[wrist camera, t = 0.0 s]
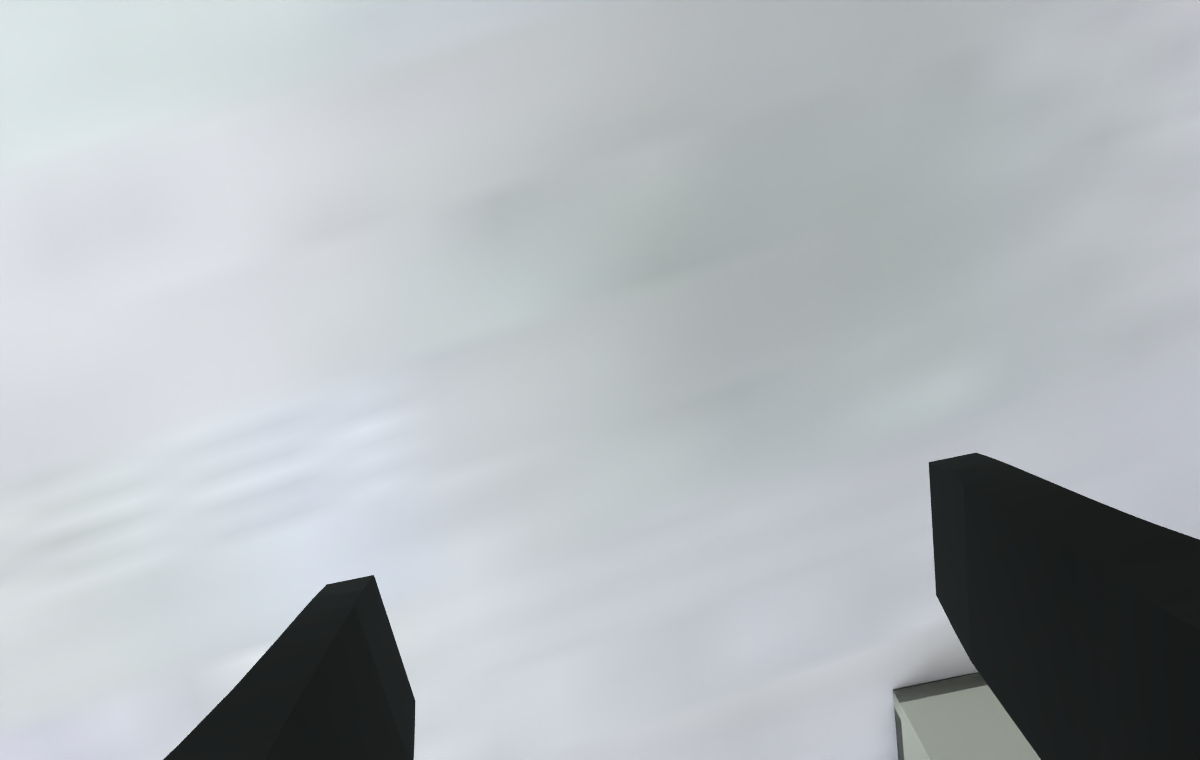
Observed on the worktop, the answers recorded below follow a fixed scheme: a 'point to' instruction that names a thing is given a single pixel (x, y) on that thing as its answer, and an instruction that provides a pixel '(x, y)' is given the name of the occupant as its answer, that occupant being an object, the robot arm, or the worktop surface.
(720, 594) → the worktop surface
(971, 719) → the box
